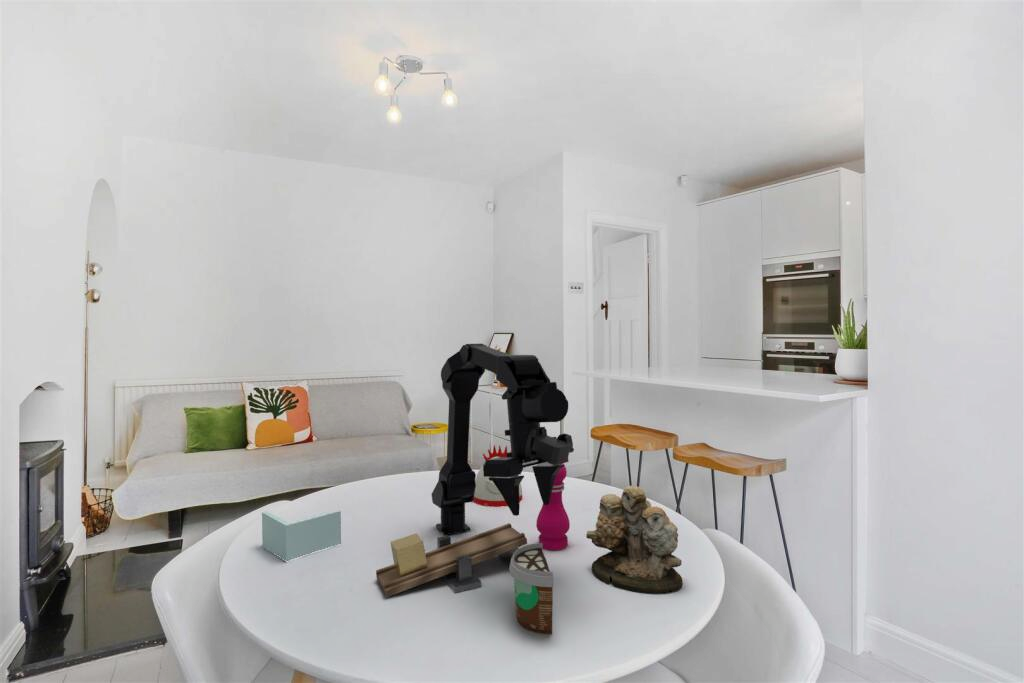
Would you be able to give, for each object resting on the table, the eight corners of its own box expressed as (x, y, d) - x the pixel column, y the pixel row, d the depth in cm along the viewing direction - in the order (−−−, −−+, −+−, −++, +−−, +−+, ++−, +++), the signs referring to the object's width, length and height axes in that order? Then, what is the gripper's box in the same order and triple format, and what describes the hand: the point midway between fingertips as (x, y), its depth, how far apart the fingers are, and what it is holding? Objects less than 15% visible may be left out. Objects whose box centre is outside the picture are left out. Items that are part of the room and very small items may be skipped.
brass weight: (401, 579, 96) (396, 550, 95) (395, 569, 100) (390, 541, 99) (427, 569, 98) (423, 541, 97) (420, 560, 102) (416, 533, 101)
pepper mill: (568, 552, 112) (567, 457, 111) (534, 550, 113) (533, 456, 113) (571, 539, 119) (570, 449, 118) (539, 537, 120) (538, 448, 120)
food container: (506, 600, 92) (506, 542, 92) (542, 599, 92) (541, 541, 92) (512, 642, 80) (512, 575, 79) (553, 639, 80) (553, 573, 80)
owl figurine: (577, 581, 99) (576, 489, 99) (596, 557, 110) (596, 474, 110) (677, 601, 91) (676, 501, 91) (688, 573, 102) (687, 484, 102)
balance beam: (387, 597, 93) (385, 587, 93) (376, 578, 100) (375, 569, 100) (527, 543, 105) (526, 535, 105) (509, 530, 112) (508, 522, 112)
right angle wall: (341, 545, 117) (340, 510, 117) (286, 562, 108) (286, 525, 108) (315, 531, 125) (314, 499, 125) (262, 546, 116) (262, 512, 116)
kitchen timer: (522, 507, 142) (521, 450, 141) (470, 507, 142) (469, 450, 141) (522, 491, 155) (521, 440, 155) (474, 491, 156) (474, 440, 155)
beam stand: (455, 592, 95) (454, 564, 95) (429, 560, 108) (428, 536, 108) (536, 573, 102) (536, 547, 102) (502, 545, 115) (502, 522, 115)
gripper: (528, 425, 86) (537, 525, 84) (588, 416, 101) (596, 501, 99) (477, 428, 93) (484, 520, 91) (540, 419, 108) (547, 499, 106)
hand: (531, 509), depth 97 cm, fingers open, 9 cm apart
